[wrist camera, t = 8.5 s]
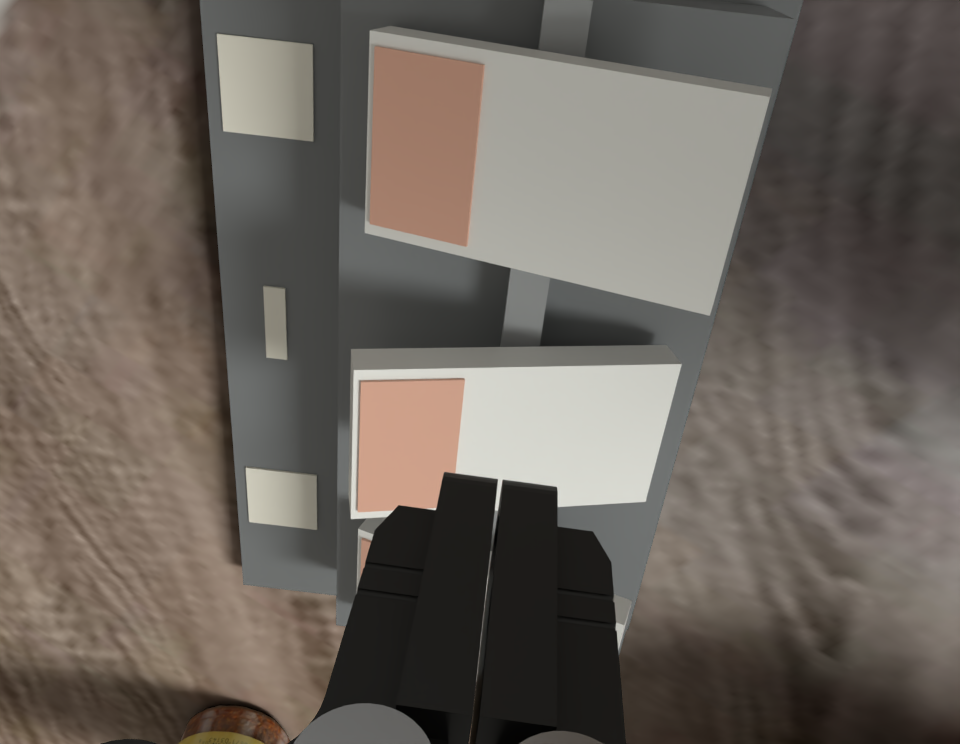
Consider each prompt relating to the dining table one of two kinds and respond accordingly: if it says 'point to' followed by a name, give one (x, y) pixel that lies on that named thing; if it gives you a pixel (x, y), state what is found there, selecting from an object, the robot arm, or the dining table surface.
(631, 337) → the switch box
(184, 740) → the sauce bottle
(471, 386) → the switch
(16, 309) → the dining table surface
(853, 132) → the dining table surface
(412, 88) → the switch
